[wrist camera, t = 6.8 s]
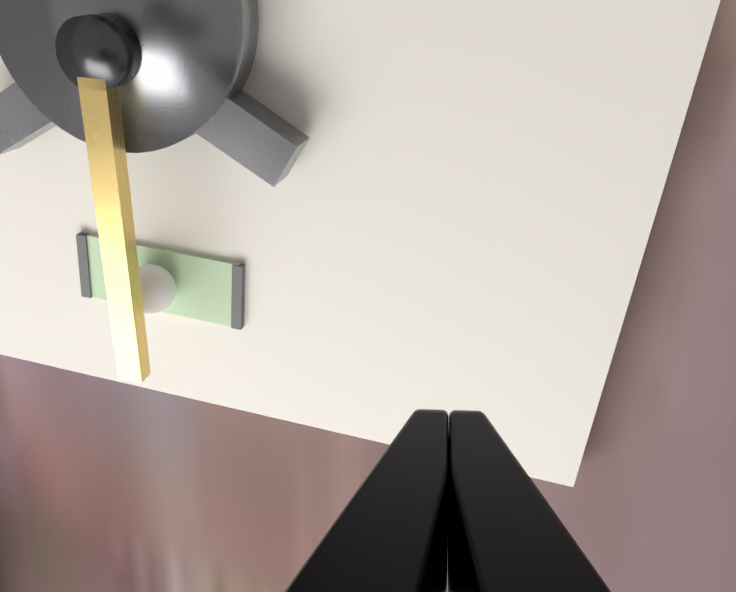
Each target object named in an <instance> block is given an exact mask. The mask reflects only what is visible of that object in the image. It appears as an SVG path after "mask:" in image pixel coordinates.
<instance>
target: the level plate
mask: <svg viewBox="0 0 736 592" xmlns="http://www.w3.org/2000/svg"><path fill="white" fill-rule="evenodd" d="M719 3H720V0H257V4H258V16H259V23H258V41H257V47H256V54H255V58H254V61H253V65H252V68H251V72H250V74H249V77H248V79H247V81H246V84H245V86H244V88H243V91H244V92H246V93H247V94H248V95H250V96H251V97H253V98H254V99H256V100H257V101H258V102H260V103H261V104H263V105H264V106H266V107H267V108H268V109H270V110H271V111H273V112H274V113H276V114H277V115H278V116H280V117H281V118H283V119H284V120H286V121H287V122H288V123H290V124H291V125H293V126H294V127H296V128H297V129H298V130H300V131H301V132H303V133H304V134H306V135H307V136H308V137H310V138H309V140H308V142H307V143H306V145H305V147H304V148H303V150H302V152H301V154H300V155H299V157H298V159H297V160H296V162H295V164H294V165H293V167H292V169H291V171H290V172H289V174H288V176H287V177H286V178H284V179H283V180H282V181H281V182H279V183H278V184H277V185H276V186H274V187H273V186H271V185H270V184H268V183H267V182H266V181H264V180H263V179H261V178H260V177H258V176H257V175H255V174H254V173H253V172H251V171H250V170H248V169H247V168H245V167H244V166H242V165H241V164H240V163H238V162H237V161H235V160H234V159H232V158H231V157H229V156H228V155H227V154H225V153H224V152H222V151H221V150H219V149H218V148H216V147H215V146H213V145H212V144H211V143H209V142H208V141H206V140H205V139H203V138H202V137H200V136H199V135H198V134H195V135H193V136H191V137H189V138H186V139H184V140H182V141H180V142H178V143H176V144H174V145H171V146H169V147H167V148H163V149H159V150H156V151H152V152H143V153H126V158H127V167H128V176H129V185H130V193H131V202H132V211H133V220H134V229H135V238H136V247H137V256H138V264H139V273H140V282H141V291H142V300H143V309H144V318H145V326H146V335H147V344H148V353H149V362H150V371H151V374H150V375H149V376H148V377H147V378H146V379H145V380H144V381H143V382H142V383H140V382H134V381H128V380H122V379H118V373H117V365H116V358H115V351H114V343H113V336H112V329H111V322H110V314H109V307H108V300H107V292H106V285H105V278H104V271H103V263H102V256H101V249H100V241H99V234H98V227H97V220H96V212H95V205H94V198H93V190H92V183H91V176H90V168H89V161H88V154H87V147H86V142H84V141H82V140H79V139H77V138H75V137H74V136H72V135H70V134H69V133H67V132H66V131H64V130H62V129H61V128H60V127H58V126H57V125H56V126H55V127H53V128H52V129H50V130H48V131H47V132H45V133H43V134H42V135H40V136H39V137H37V138H35V139H34V140H32V141H30V142H29V143H27V144H26V145H24V146H22V147H21V148H18V149H15V150H12V151H9V152H6V153H3V154H0V354H2V355H6V356H10V357H15V358H19V359H23V360H28V361H32V362H36V363H40V364H45V365H49V366H53V367H58V368H62V369H66V370H71V371H75V372H79V373H84V374H88V375H92V376H97V377H101V378H105V379H110V380H114V381H118V382H122V383H127V384H131V385H135V386H140V387H144V388H148V389H153V390H157V391H161V392H166V393H170V394H174V395H179V396H183V397H187V398H191V399H196V400H200V401H204V402H209V403H213V404H217V405H222V406H226V407H230V408H235V409H239V410H243V411H248V412H252V413H256V414H261V415H265V416H269V417H273V418H278V419H282V420H286V421H291V422H295V423H299V424H304V425H308V426H312V427H317V428H321V429H325V430H330V431H334V432H338V433H343V434H347V435H351V436H355V437H360V438H364V439H368V440H373V441H377V442H381V443H386V444H391V442H392V441H393V440H394V438H395V437H396V436H397V434H398V433H399V431H400V430H401V429H402V427H403V426H404V424H405V423H406V422H407V420H408V419H409V417H410V416H411V415H412V413H413V412H414V411H415V410H417V409H436V410H445V411H447V413H448V416H449V414H450V412H451V411H453V410H474V411H481V412H483V413H484V414H485V415H486V417H487V418H488V419H489V421H490V422H491V424H492V425H493V426H494V428H495V429H496V431H497V432H498V433H499V435H500V436H501V438H502V439H503V440H504V442H505V443H506V445H507V446H508V447H509V449H510V450H511V452H512V453H513V455H514V456H515V457H516V459H517V460H518V462H519V463H520V464H521V466H522V467H523V469H524V470H525V471H526V473H527V474H528V476H529V477H532V478H537V479H541V480H545V481H550V482H554V483H558V484H563V485H567V486H571V487H573V486H574V483H575V479H576V476H577V473H578V469H579V466H580V463H581V460H582V456H583V453H584V450H585V446H586V443H587V440H588V436H589V433H590V430H591V426H592V423H593V420H594V417H595V413H596V410H597V407H598V403H599V400H600V397H601V393H602V390H603V387H604V384H605V380H606V377H607V374H608V370H609V367H610V364H611V360H612V357H613V354H614V350H615V347H616V344H617V341H618V337H619V334H620V331H621V327H622V324H623V321H624V317H625V314H626V311H627V307H628V304H629V301H630V298H631V294H632V291H633V288H634V284H635V281H636V278H637V274H638V271H639V268H640V265H641V261H642V258H643V255H644V251H645V248H646V245H647V241H648V238H649V235H650V231H651V228H652V225H653V222H654V218H655V215H656V212H657V208H658V205H659V202H660V198H661V195H662V192H663V188H664V185H665V182H666V179H667V175H668V172H669V169H670V165H671V162H672V159H673V155H674V152H675V149H676V146H677V142H678V139H679V136H680V132H681V129H682V126H683V122H684V119H685V116H686V112H687V109H688V106H689V103H690V99H691V96H692V93H693V89H694V86H695V83H696V79H697V76H698V73H699V69H700V66H701V63H702V60H703V56H704V53H705V50H706V46H707V43H708V40H709V36H710V33H711V30H712V26H713V23H714V20H715V17H716V13H717V10H718V7H719ZM13 83H15V80H14V79H13V78H12V76H11V74H10V73H9V71H8V69H7V67H6V66H5V64H4V62H3V60H2V58H1V56H0V92H1V91H3V90H4V89H6V88H7V87H9V86H10V85H12V84H13Z"/></svg>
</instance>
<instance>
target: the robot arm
mask: <svg viewBox="0 0 736 592" xmlns="http://www.w3.org/2000/svg"><path fill="white" fill-rule="evenodd" d="M447 556H448V592H611V591H610V590H609V588H608V587H607V585H606V584H605V583H604V581H603V580H602V578H601V577H600V576H599V574H598V573H597V571H596V570H595V569H594V567H593V566H592V564H591V563H590V561H589V560H588V559H587V557H586V556H585V554H584V553H583V552H582V550H581V549H580V547H579V546H578V545H577V543H576V542H575V540H574V539H573V538H572V536H571V535H570V533H569V532H568V531H567V529H566V528H565V526H564V525H563V523H562V522H561V521H560V519H559V518H558V516H557V515H556V514H555V512H554V511H553V509H552V508H551V507H550V505H549V504H548V502H547V501H546V500H545V498H544V497H543V495H542V494H541V493H540V491H539V490H538V488H537V487H536V485H535V484H534V483H533V481H532V480H531V478H530V477H529V476H528V474H527V473H526V471H525V470H524V469H523V467H522V466H521V464H520V463H519V462H518V460H517V459H516V457H515V456H514V455H513V453H512V452H511V450H510V449H509V447H508V446H507V445H506V443H505V442H504V440H503V439H502V438H501V436H500V435H499V433H498V432H497V431H496V429H495V428H494V426H493V425H492V424H491V422H490V421H489V419H488V418H487V417H486V415H485V414H484V413H483V412H481V411H474V410H453V411H451V412H450V414H449V416H448V413H447V411H445V410H436V409H417V410H415V411H414V412H413V413H412V415H411V416H410V417H409V419H408V420H407V422H406V423H405V424H404V426H403V427H402V429H401V430H400V431H399V433H398V434H397V436H396V437H395V438H394V440H393V441H392V442H391V444H390V445H389V447H388V448H387V449H386V451H385V452H384V454H383V455H382V456H381V458H380V459H379V461H378V462H377V463H376V465H375V466H374V468H373V469H372V470H371V472H370V473H369V475H368V476H367V477H366V479H365V480H364V482H363V483H362V484H361V486H360V487H359V489H358V490H357V491H356V493H355V494H354V496H353V497H352V498H351V500H350V501H349V503H348V504H347V505H346V507H345V508H344V510H343V511H342V512H341V514H340V515H339V517H338V518H337V519H336V521H335V522H334V524H333V525H332V526H331V528H330V529H329V530H328V532H327V533H326V535H325V536H324V537H323V539H322V540H321V542H320V543H319V544H318V546H317V547H316V549H315V550H314V551H313V553H312V554H311V556H310V557H309V558H308V560H307V561H306V563H305V564H304V565H303V567H302V568H301V570H300V571H299V572H298V574H297V575H296V577H295V578H294V579H293V581H292V582H291V584H290V585H289V586H288V588H287V589H286V591H285V592H446V591H447Z"/></svg>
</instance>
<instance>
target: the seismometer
mask: <svg viewBox="0 0 736 592" xmlns="http://www.w3.org/2000/svg"><path fill="white" fill-rule="evenodd" d="M258 23H259V16H258V4H257V0H0V56H1V58H2V60H3V62H4V64H5V66H6V67H7V69H8V71H9V73H10V74H11V76H12V78H13V79H14V80H15V83H13V84H12V85H10V86H9V87H7V88H6V89H4V90H3V91H1V92H0V154H3V153H6V152H9V151H12V150H15V149H18V148H21V147H22V146H24V145H26V144H27V143H29V142H30V141H32V140H34V139H35V138H37V137H39V136H40V135H42V134H43V133H45V132H47V131H48V130H50V129H52V128H53V127H55V126H56V125H57V126H58V127H60V128H61V129H62V130H64V131H66V132H67V133H69V134H70V135H72V136H74V137H75V138H77V139H79V140H82V141H84V142H86V147H87V154H88V161H89V168H90V176H91V183H92V190H93V198H94V205H95V212H96V220H97V227H98V234H99V241H100V249H101V256H102V263H103V271H104V278H105V285H106V292H107V300H108V307H109V314H110V322H111V329H112V336H113V343H114V351H115V358H116V365H117V373H118V379H122V380H128V381H134V382H140V383H142V382H143V381H144V380H145V379H146V378H147V377H148V376H149V375H150V374H151V371H150V362H149V353H148V344H147V335H146V326H145V318H144V309H143V300H142V291H141V282H140V273H139V264H138V256H137V247H136V238H135V229H134V220H133V211H132V202H131V193H130V185H129V176H128V167H127V158H126V153H143V152H152V151H156V150H159V149H163V148H167V147H169V146H171V145H174V144H176V143H178V142H180V141H182V140H184V139H186V138H189V137H191V136H193V135H195V134H198V135H199V136H200V137H202V138H203V139H205V140H206V141H208V142H209V143H211V144H212V145H213V146H215V147H216V148H218V149H219V150H221V151H222V152H224V153H225V154H227V155H228V156H229V157H231V158H232V159H234V160H235V161H237V162H238V163H240V164H241V165H242V166H244V167H245V168H247V169H248V170H250V171H251V172H253V173H254V174H255V175H257V176H258V177H260V178H261V179H263V180H264V181H266V182H267V183H268V184H270V185H271V186H273V187H274V186H276V185H277V184H278V183H279V182H281V181H282V180H283V179H284V178H286V177H287V176H288V174H289V172H290V171H291V169H292V167H293V165H294V164H295V162H296V160H297V159H298V157H299V155H300V154H301V152H302V150H303V148H304V147H305V145H306V143H307V142H308V140H309V138H310V137H308V136H307V135H306V134H304V133H303V132H301V131H300V130H298V129H297V128H296V127H294V126H293V125H291V124H290V123H288V122H287V121H286V120H284V119H283V118H281V117H280V116H278V115H277V114H276V113H274V112H273V111H271V110H270V109H268V108H267V107H266V106H264V105H263V104H261V103H260V102H258V101H257V100H256V99H254V98H253V97H251V96H250V95H248V94H247V93H246V92H244V91H243V88H244V86H245V84H246V81H247V79H248V77H249V74H250V72H251V68H252V65H253V61H254V58H255V54H256V47H257V41H258Z"/></svg>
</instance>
